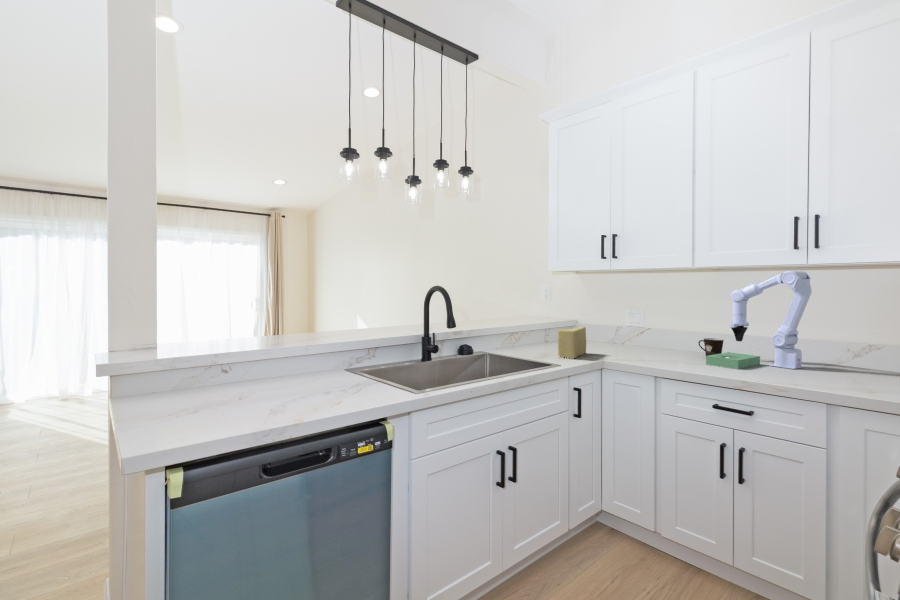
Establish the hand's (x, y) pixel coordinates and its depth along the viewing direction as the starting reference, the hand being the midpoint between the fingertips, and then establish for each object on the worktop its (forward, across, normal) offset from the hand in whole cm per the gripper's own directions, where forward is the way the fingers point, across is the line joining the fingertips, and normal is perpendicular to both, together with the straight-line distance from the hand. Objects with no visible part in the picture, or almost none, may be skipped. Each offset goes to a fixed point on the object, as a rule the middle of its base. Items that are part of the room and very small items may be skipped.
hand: (739, 341), depth 213 cm
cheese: (+10, +60, -52) cm, 80 cm away
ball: (+7, +21, +5) cm, 23 cm away
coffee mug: (+10, +6, -10) cm, 15 cm away
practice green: (+9, +16, +5) cm, 19 cm away
